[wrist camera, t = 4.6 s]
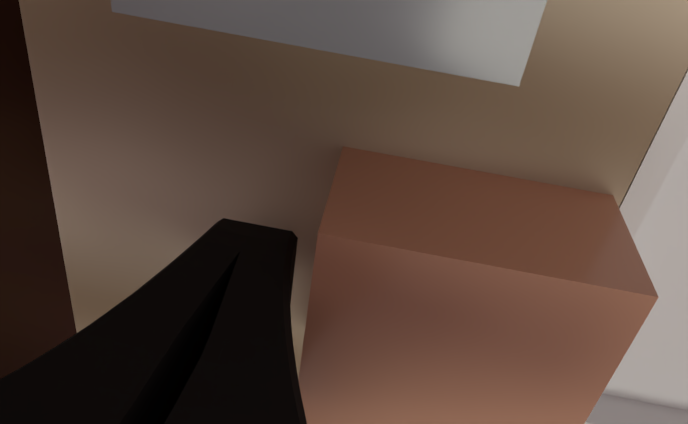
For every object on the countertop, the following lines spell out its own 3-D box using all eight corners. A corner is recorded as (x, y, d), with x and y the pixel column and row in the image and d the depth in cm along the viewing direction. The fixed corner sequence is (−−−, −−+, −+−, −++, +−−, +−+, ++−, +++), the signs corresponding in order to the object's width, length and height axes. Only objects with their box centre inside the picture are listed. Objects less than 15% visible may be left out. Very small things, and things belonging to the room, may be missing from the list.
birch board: (489, 370, 16) (496, 453, 14) (128, 298, 16) (82, 369, 14) (878, -548, 7) (1067, -700, 5) (32, -673, 7) (-134, -864, 5)
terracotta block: (528, 375, 12) (545, 488, 10) (315, 333, 12) (290, 436, 10) (613, 194, 10) (658, 296, 8) (343, 146, 10) (318, 233, 8)
